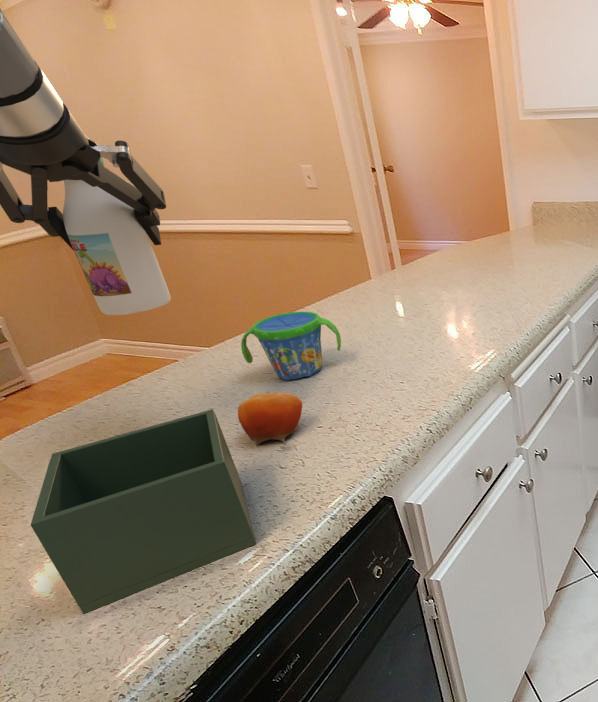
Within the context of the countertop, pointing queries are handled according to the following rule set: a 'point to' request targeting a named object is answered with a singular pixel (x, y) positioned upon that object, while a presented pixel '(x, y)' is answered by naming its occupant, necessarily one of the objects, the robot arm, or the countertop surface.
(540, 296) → the countertop surface
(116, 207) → the milk bottle
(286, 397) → the fruit
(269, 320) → the snack cup
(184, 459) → the bin
